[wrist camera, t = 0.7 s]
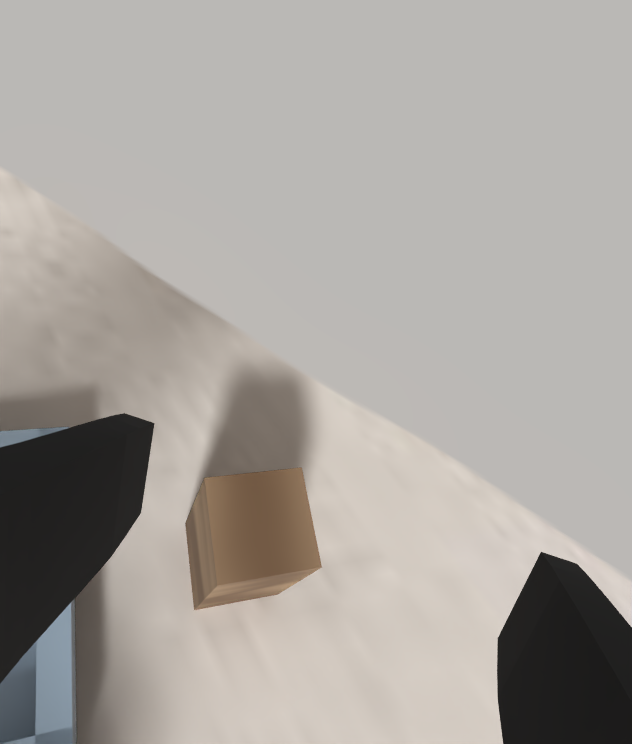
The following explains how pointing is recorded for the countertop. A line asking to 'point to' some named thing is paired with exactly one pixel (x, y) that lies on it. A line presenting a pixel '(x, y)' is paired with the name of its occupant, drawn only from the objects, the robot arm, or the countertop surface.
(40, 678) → the blue shallow rectangular tray
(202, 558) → the tan wooden block
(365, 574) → the countertop surface
